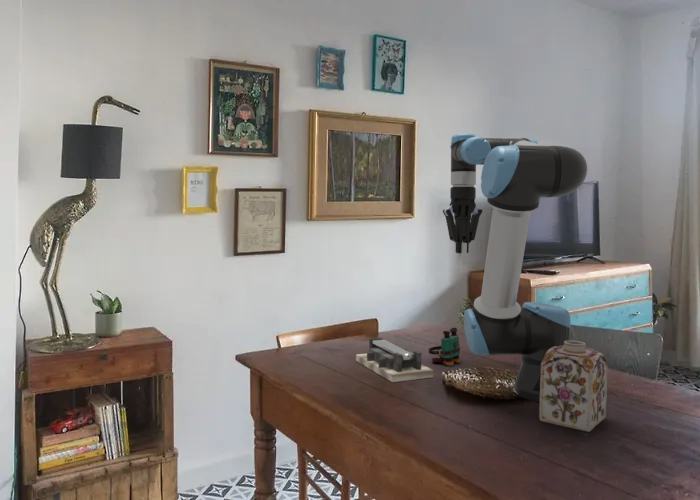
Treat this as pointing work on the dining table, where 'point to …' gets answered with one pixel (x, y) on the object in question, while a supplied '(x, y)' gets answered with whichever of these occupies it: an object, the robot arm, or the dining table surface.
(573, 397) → the decorative jar
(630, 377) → the dining table surface
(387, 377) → the heatsink mount
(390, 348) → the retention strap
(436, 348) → the binoculars
